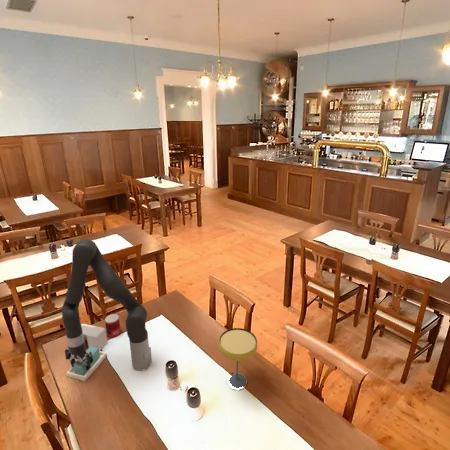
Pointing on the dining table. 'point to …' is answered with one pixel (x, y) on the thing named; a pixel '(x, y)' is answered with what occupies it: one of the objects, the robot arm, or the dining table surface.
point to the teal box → (80, 366)
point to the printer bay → (94, 336)
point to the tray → (83, 378)
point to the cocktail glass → (238, 350)
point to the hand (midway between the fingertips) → (81, 367)
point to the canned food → (112, 325)
